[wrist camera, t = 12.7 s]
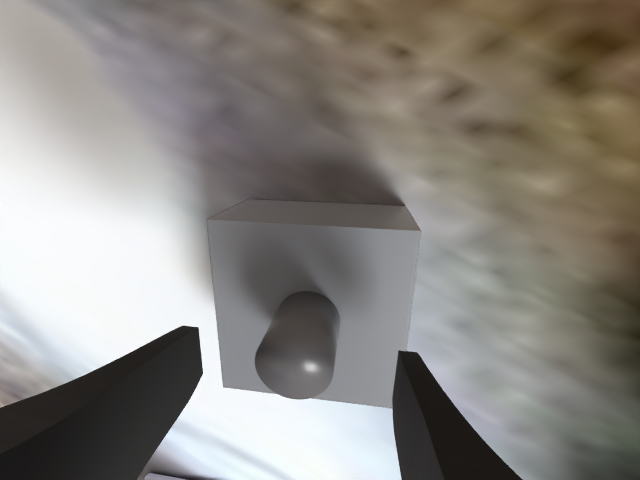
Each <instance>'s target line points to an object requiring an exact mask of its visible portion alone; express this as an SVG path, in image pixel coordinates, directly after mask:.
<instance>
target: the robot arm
mask: <svg viewBox="0 0 640 480" xmlns="http://www.w3.org/2000/svg"><path fill="white" fill-rule="evenodd" d="M202 374H203V369H202V359H201V349H200V339H199V329H198V327H190V326H181V327H179V328H177V329H175V330H172V331H171V332H169V333H167V334H165V335H163V336H161V337H159V338H157V339H155V340H153V341H151V342H150V343H148V344H146V345H144V346H142V347H140V348H138V349H136V350H134V351H133V352H131V353H129V354H127V355H125V356H123V357H121V358H119V359H117V360H115V361H113V362H111V363H109V364H107V365H105V366H103V367H101V368H98V369H96V370H94V371H92V372H90V373H88V374H86V375H84V376H82V377H79V378H77V379H75V380H72V381H70V382H68V383H65V384H63V385H60V386H58V387H56V388H53V389H51V390H48V391H46V392H43V393H41V394H38V395H35V396H32V397H29V398H27V399H24V400H21V401H18V402H16V403H13V404H10V405H7V406H4V407H2V408H0V480H137V478H138V476H139V475H140V473H141V472H142V470H143V468H144V467H145V465H146V464H147V462H148V461H149V459H150V458H151V456H152V455H153V453H154V452H155V450H156V449H157V447H158V446H159V445H160V443H161V442H162V440H163V439H164V437H165V436H166V434H167V433H168V431H169V430H170V428H171V427H172V425H173V424H174V422H175V421H176V420H177V418H178V417H179V415H180V414H181V412H182V411H183V409H184V408H185V406H186V404H187V403H188V401H189V400H190V398H191V396H192V394H193V392H194V390H195V389H196V387H197V385H198V382H199V380H200V378H201V376H202ZM392 406H393V425H394V434H395V441H396V447H397V453H398V460H399V466H400V472H401V478H402V480H522V479H521V478H520V477H519V476H518V475H517V474H516V473H515V472H514V471H513V470H512V469H511V468H510V467H509V466H508V465H507V464H506V463H505V462H504V461H503V460H502V459H501V458H500V457H499V456H498V455H497V454H496V453H495V452H494V451H493V450H492V449H491V448H490V447H489V446H488V445H487V443H486V442H485V441H484V440H483V439H482V438H481V437H480V436H479V435H478V433H477V432H476V431H475V430H474V429H473V428H472V426H471V425H470V424H469V423H468V422H467V420H466V419H465V418H464V417H463V415H462V414H461V413H460V412H459V410H458V409H457V408H456V407H455V405H454V404H453V403H452V401H451V400H450V399H449V397H448V396H447V395H446V393H445V392H444V391H443V389H442V388H441V387H440V385H439V384H438V382H437V381H436V379H435V378H434V377H433V375H432V374H431V372H430V371H429V369H428V368H427V366H426V365H425V363H424V362H423V360H422V358H421V357H420V355H419V354H418V353H417V352H408V351H400V350H398V358H397V365H396V373H395V381H394V388H393V396H392ZM144 480H187V479H181V478H176V477H170V476H164V475H159V474H153V473H148V474H147V475H146V476H145V478H144Z"/></svg>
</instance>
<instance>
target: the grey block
mask: <svg viewBox="0 0 640 480" xmlns="http://www.w3.org/2000/svg"><path fill="white" fill-rule="evenodd" d="M207 229H208V239H209V249H210V259H211V269H212V279H213V289H214V299H215V309H216V320H217V330H218V340H219V350H220V360H221V370H222V380H223V387H226V388H234V389H242V390H250V391H258V392H266V393H273V394H279V395H281V396H283V397H287V398H291V399H309V398H313V399H321V400H329V401H337V402H345V403H353V404H361V405H369V406H377V407H385V408H393V406H392V396H393V388H394V381H395V373H396V365H397V358H398V350H400V351H407V344H408V336H409V328H410V319H411V311H412V303H413V295H414V287H415V278H416V270H417V262H418V254H419V246H420V237H421V230H420V228H419V227H418V225H417V223H416V222H415V220H414V218H413V217H412V215H411V213H410V212H409V210H408V209H407V207H406V206H398V205H375V204H352V203H329V202H306V201H282V200H259V199H247V200H245V201H243V202H241V203H239V204H237V205H235V206H233V207H231V208H229V209H227V210H225V211H223V212H221V213H219V214H217V215H215V216H213V217H211V218H209V219H207Z"/></svg>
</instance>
